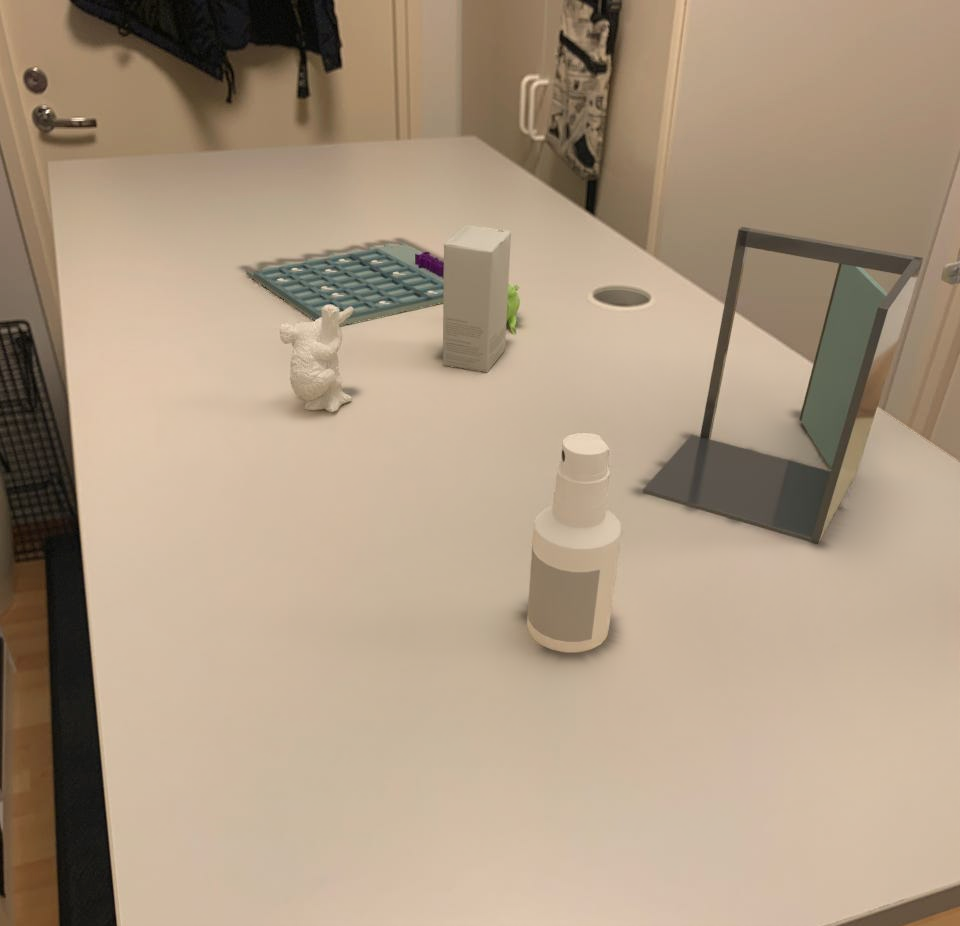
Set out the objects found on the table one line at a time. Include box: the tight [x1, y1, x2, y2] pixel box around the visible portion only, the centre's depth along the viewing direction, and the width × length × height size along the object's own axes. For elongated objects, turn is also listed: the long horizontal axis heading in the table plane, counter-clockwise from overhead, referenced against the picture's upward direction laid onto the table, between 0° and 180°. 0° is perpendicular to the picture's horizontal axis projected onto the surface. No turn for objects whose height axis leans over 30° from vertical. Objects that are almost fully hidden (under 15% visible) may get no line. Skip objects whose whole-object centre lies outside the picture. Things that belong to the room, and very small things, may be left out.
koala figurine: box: [279, 304, 354, 413], centre depth 109 cm, size 8×7×12 cm
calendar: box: [245, 241, 444, 327], centre depth 145 cm, size 27×28×2 cm
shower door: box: [799, 263, 889, 469], centre depth 100 cm, size 14×6×19 cm, turn 1°
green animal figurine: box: [506, 283, 521, 334], centre depth 132 cm, size 6×5×6 cm
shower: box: [642, 226, 924, 545], centre depth 91 cm, size 18×16×24 cm
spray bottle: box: [526, 432, 623, 653], centre depth 74 cm, size 7×7×18 cm
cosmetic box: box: [442, 224, 512, 373], centre depth 119 cm, size 8×7×16 cm
